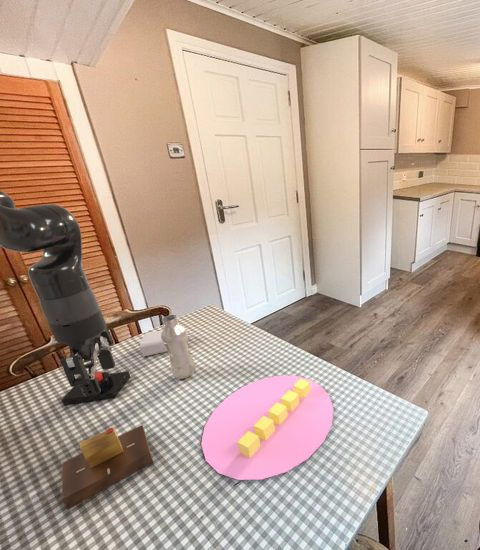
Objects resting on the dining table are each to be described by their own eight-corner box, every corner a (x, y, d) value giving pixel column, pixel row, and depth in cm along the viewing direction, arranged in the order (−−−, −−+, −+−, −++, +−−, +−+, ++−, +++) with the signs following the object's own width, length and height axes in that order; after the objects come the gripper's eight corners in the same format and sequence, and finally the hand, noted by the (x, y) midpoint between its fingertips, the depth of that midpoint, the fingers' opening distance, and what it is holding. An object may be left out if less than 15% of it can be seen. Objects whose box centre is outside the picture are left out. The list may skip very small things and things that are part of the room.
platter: (355, 396, 84) (355, 387, 83) (276, 509, 58) (274, 497, 56) (267, 364, 97) (266, 355, 96) (170, 443, 71) (167, 433, 70)
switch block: (64, 405, 82) (58, 394, 80) (85, 383, 90) (80, 372, 88) (114, 398, 84) (110, 387, 82) (130, 376, 92) (126, 366, 91)
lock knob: (90, 468, 62) (79, 446, 60) (89, 463, 63) (79, 441, 61) (123, 452, 66) (114, 430, 63) (122, 447, 67) (113, 426, 64)
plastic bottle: (193, 364, 97) (178, 309, 90) (200, 374, 93) (185, 318, 85) (170, 374, 93) (153, 317, 86) (176, 385, 89) (158, 326, 81)
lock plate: (67, 509, 58) (61, 499, 57) (67, 472, 65) (62, 461, 63) (153, 462, 67) (149, 452, 65) (145, 433, 73) (142, 424, 72)
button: (83, 386, 84) (81, 381, 83) (91, 377, 87) (89, 372, 86) (98, 384, 84) (96, 379, 84) (106, 375, 88) (104, 370, 87)
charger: (194, 346, 106) (143, 358, 101) (195, 333, 114) (148, 343, 108) (191, 335, 105) (139, 346, 99) (193, 322, 112) (145, 332, 107)
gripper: (66, 300, 62) (93, 364, 68) (25, 336, 50) (63, 410, 56) (111, 294, 65) (133, 356, 71) (82, 327, 53) (112, 399, 59)
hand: (102, 380), depth 63 cm, fingers open, 8 cm apart
